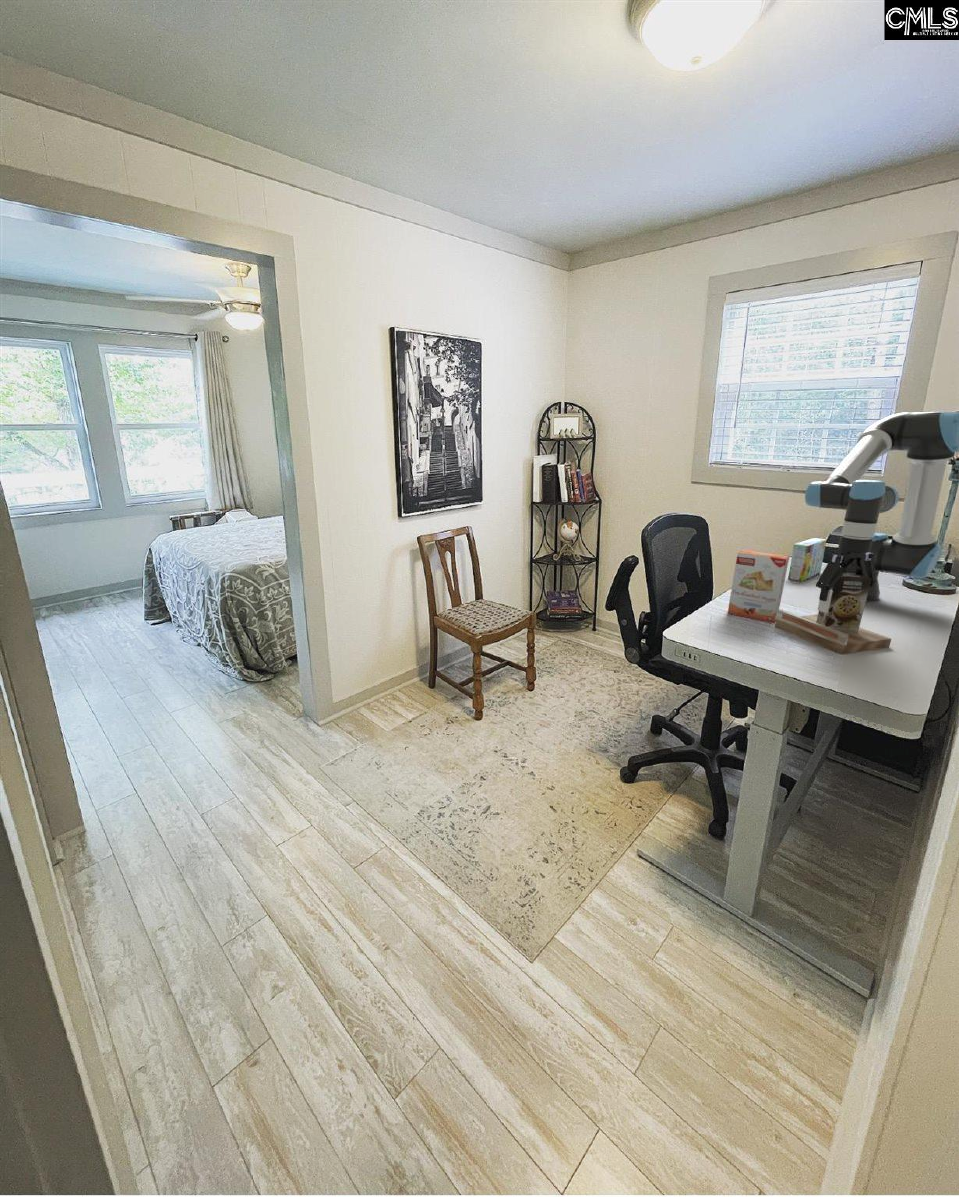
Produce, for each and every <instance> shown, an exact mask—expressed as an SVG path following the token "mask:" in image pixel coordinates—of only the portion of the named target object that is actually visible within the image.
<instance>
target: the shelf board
mask: <svg viewBox="0 0 959 1197" xmlns="http://www.w3.org/2000/svg"><path fill="white" fill-rule="evenodd" d="M817 617H818V613H816V614H811V615H809V614H808V615H801V616H799V615H796V614H794V613H792V612H788V611H786V610H783V609H779V610H778V612H777V618H776V620H775V622H774V623H775V625H774V628H776V629H779V630H781V631H784V632H786V633H788V634H790V635H793V636H796V637H799V638H800V639H803V640H806V641H809V642H810V643H813V644H815V645H818V646H820V647H822V648H824V649H825V648H826V649H827V650H830V651H833V652H835V653H837V654H839V655H847V654H850V653H858V652H863V651H871V650H878V649H885V648H890V646H891V642H892V638H891V637H888V636H886V635H882V634H879V633H876V632H873V631H871V630H868V629H865V628H862V627H861V626H860V627H859V631H858V632H849V631H837V630H835V629H832V628H829V627H827V626H824V625H821V624H819V623H816V621H817Z"/></svg>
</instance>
